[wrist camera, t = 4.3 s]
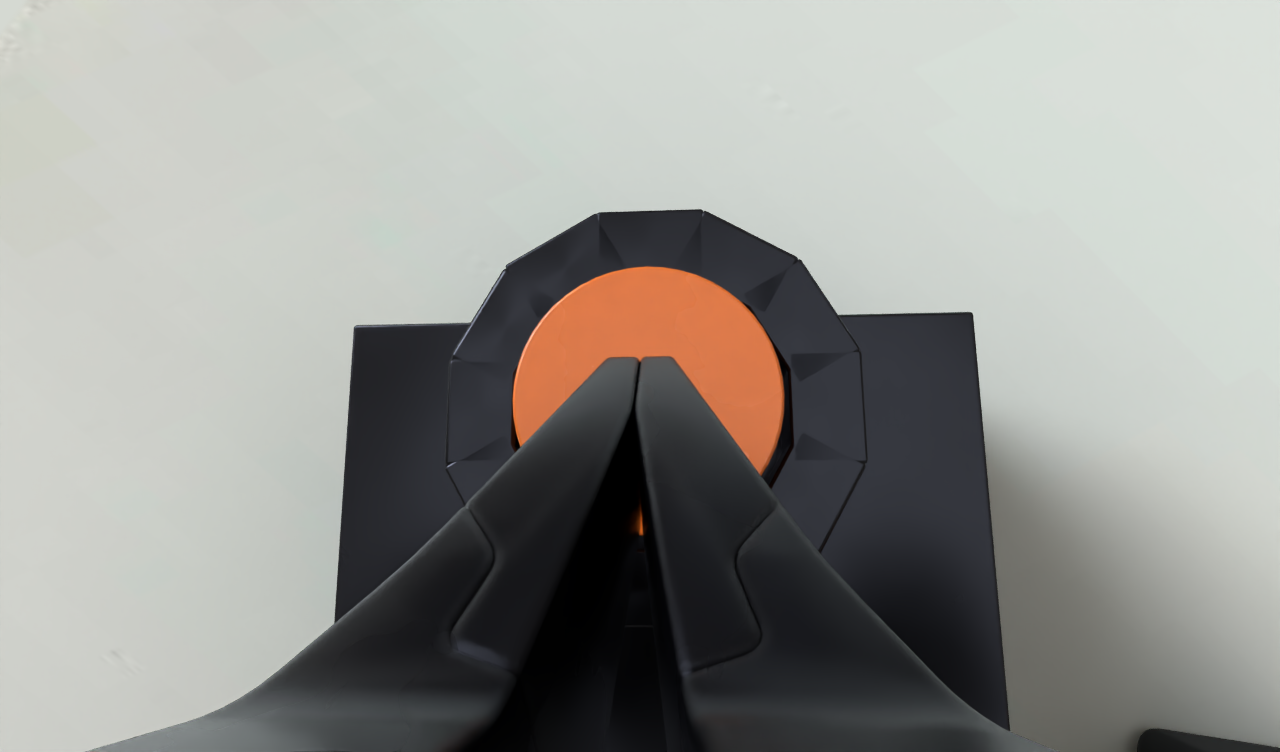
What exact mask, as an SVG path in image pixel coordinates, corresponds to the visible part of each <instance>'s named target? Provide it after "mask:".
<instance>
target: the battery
mask: <svg viewBox="0 0 1280 752" xmlns="http://www.w3.org/2000/svg"><path fill="white" fill-rule="evenodd" d="M1137 752H1280V748H1278V747H1271V746H1265V745H1259V744H1253V743H1246V742H1240V741H1234V740H1227V739H1221V738H1215V737H1208V736H1202V735H1196V734H1190V733H1183V732H1177V731H1171V730H1164V729H1149V730H1147V731H1145V732H1143V733H1142V735H1141V736H1140V738H1139V741H1138V747H1137Z"/></svg>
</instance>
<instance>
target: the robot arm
mask: <svg viewBox="0 0 1280 752" xmlns="http://www.w3.org/2000/svg"><path fill="white" fill-rule="evenodd" d="M641 516H642V530H643V542H644V551H645V560H646V568H647V577H648V586H649V595H650V603H651V612H652V621H653V630H654V638H655V647H656V656H657V665H658V674H659V682H660V691H661V700H662V709H663V717H664V726H665V735H666V744H667V752H1059V751H1056V750H1054V749H1051V748H1049V747H1046V746H1044V745H1041V744H1039V743H1037V742H1034V741H1032V740H1029V739H1027V738H1024V737H1022V736H1019V735H1017V734H1015V733H1012V732H1010V731H1008V730H1006V729H1004V728H1002V727H1000V726H998V725H997V724H995V723H993V722H991V721H990V720H988V719H987V718H985V717H984V716H982V715H981V714H980V713H978V712H977V711H975V710H974V709H973V708H971V707H970V706H969V705H967V704H966V703H965V702H964V701H963V700H961V699H960V698H959V697H958V696H957V695H955V694H954V693H953V692H952V691H951V690H950V689H949V688H948V687H947V686H946V685H945V684H944V683H943V682H942V681H941V680H940V679H939V678H938V677H937V676H936V675H935V674H934V673H933V672H932V671H931V670H930V669H929V668H928V667H927V666H926V665H925V664H924V663H923V662H922V661H921V660H920V659H919V658H918V657H917V656H916V655H915V654H914V653H913V652H912V651H911V650H910V649H909V647H908V646H907V645H906V644H905V643H904V642H903V641H902V640H901V639H900V638H899V637H898V636H897V635H896V634H895V633H894V632H893V631H892V630H891V629H890V628H889V627H888V626H887V625H886V624H885V623H884V622H883V621H882V620H881V619H880V618H879V617H878V615H877V614H876V613H875V612H874V611H873V610H872V609H871V608H870V607H869V606H868V605H867V604H866V603H865V602H864V601H863V600H862V599H861V598H860V597H859V596H858V595H857V594H856V593H855V592H854V591H853V590H852V588H851V587H850V586H849V585H848V584H847V583H846V582H845V581H844V580H843V579H842V578H841V577H840V575H839V574H838V573H837V572H836V571H835V570H834V569H833V568H832V567H831V566H830V565H829V563H828V562H827V561H826V560H825V559H824V558H823V557H822V555H821V554H820V553H819V552H818V550H817V549H816V548H815V547H814V545H813V544H812V543H811V542H810V540H809V539H808V538H807V537H806V535H805V534H804V533H803V532H802V530H801V529H800V528H799V526H798V525H797V524H796V522H795V521H794V520H793V518H792V517H791V516H790V514H789V513H788V511H787V510H786V509H785V507H783V506H781V503H780V501H779V500H778V498H777V497H776V496H775V494H774V493H773V492H772V490H771V489H770V487H769V486H768V485H767V483H766V482H765V481H764V479H763V478H762V477H761V475H760V474H759V473H758V471H757V470H756V468H755V467H754V466H753V464H752V463H751V462H750V460H749V459H748V458H747V456H746V455H745V454H744V452H743V451H742V449H741V448H740V447H739V445H738V444H737V443H736V441H735V440H734V439H733V437H732V436H731V435H730V433H729V432H728V430H727V429H726V428H725V426H724V425H723V424H722V422H721V421H720V420H719V418H718V417H717V416H716V414H715V413H714V412H713V410H712V409H711V407H710V406H709V405H708V403H707V402H706V401H705V399H704V398H703V397H702V395H701V394H700V393H699V391H698V390H697V388H696V387H695V386H694V384H693V383H692V382H691V380H690V379H689V378H688V376H687V375H686V374H685V372H684V371H683V369H682V368H681V367H680V365H679V364H678V363H677V361H676V360H675V359H674V358H673V357H671V356H646V357H643V358H642V359H641V361H640V360H639V359H638V358H637V357H609V358H607V359H605V360H604V361H603V362H602V363H601V364H600V365H599V366H598V368H597V369H596V370H595V371H594V372H593V373H592V374H591V375H590V376H589V377H588V378H587V379H586V380H585V381H584V382H583V383H582V384H581V385H580V386H579V387H578V388H577V389H576V390H575V391H574V392H573V393H572V394H571V395H570V396H569V398H568V399H567V400H566V401H565V402H564V403H563V404H562V405H561V406H560V407H559V408H558V409H557V410H556V411H555V412H554V413H553V414H552V415H551V416H550V417H549V418H548V419H547V420H546V421H545V422H544V423H543V424H542V425H541V426H540V427H539V429H538V430H537V431H536V432H535V433H534V434H533V435H532V436H531V437H530V438H529V439H528V440H527V441H526V442H525V443H524V444H523V445H522V446H521V447H520V448H519V449H518V450H517V451H516V452H515V453H514V454H513V455H512V456H511V457H510V459H509V460H508V461H507V462H506V463H505V464H504V465H503V466H502V467H501V468H500V469H499V470H498V471H497V472H496V473H495V474H494V475H493V476H492V477H491V478H490V479H489V480H488V481H487V482H486V483H485V484H484V485H483V486H482V487H481V489H480V490H479V491H478V492H477V493H476V494H475V495H474V496H473V497H472V498H471V499H470V500H469V501H468V502H467V503H466V507H462V508H461V509H460V510H459V511H458V512H457V513H456V514H455V515H454V516H453V517H452V518H451V519H450V520H449V521H448V522H447V523H446V524H445V525H444V526H443V527H442V528H441V529H440V530H439V531H438V532H437V533H436V534H435V535H434V536H433V537H432V538H431V539H430V540H429V541H428V542H427V543H426V544H425V545H424V546H423V547H422V548H421V549H420V550H419V551H418V552H417V553H416V554H415V555H414V556H413V557H412V558H410V559H409V560H408V561H407V562H406V563H405V564H404V565H402V566H401V567H400V568H399V569H398V570H397V571H396V572H395V573H393V574H392V575H391V576H390V577H389V578H388V579H387V580H385V581H384V582H383V583H382V584H381V585H380V586H379V587H377V588H376V589H375V590H374V591H373V592H372V593H370V594H369V595H368V596H367V597H366V598H365V599H363V600H362V601H361V602H360V603H359V604H357V605H356V606H355V607H354V608H353V609H351V610H350V611H349V612H348V613H347V614H345V615H344V616H343V617H342V618H341V619H339V620H338V621H337V622H336V623H335V624H334V625H332V626H331V627H330V628H329V629H328V630H326V631H325V632H324V633H323V634H322V635H320V636H319V637H318V638H317V639H316V640H314V641H313V642H312V643H311V644H310V645H308V646H307V647H306V648H305V649H304V650H303V651H301V652H300V653H299V654H298V655H297V656H295V657H294V658H293V659H292V660H291V661H289V662H288V663H287V664H286V665H285V666H283V667H282V668H281V669H280V670H279V671H277V672H276V673H275V674H274V675H272V676H271V677H270V678H268V679H267V680H266V681H265V682H263V683H262V684H261V685H259V686H258V687H256V688H255V689H253V690H252V691H250V692H249V693H247V694H246V695H244V696H243V697H241V698H240V699H238V700H236V701H234V702H232V703H230V704H229V705H227V706H225V707H223V708H221V709H219V710H216V711H214V712H212V713H209V714H207V715H205V716H202V717H200V718H197V719H194V720H191V721H188V722H185V723H182V724H178V725H175V726H171V727H168V728H164V729H161V730H158V731H154V732H151V733H147V734H144V735H141V736H137V737H134V738H130V739H127V740H124V741H120V742H117V743H113V744H110V745H107V746H103V747H100V748H96V749H93V750H89V751H86V752H605V746H606V740H607V734H608V727H609V721H610V715H611V709H612V703H613V696H614V690H615V684H616V678H617V671H618V665H619V659H620V653H621V647H622V640H623V634H624V628H625V622H626V616H627V609H628V603H629V597H630V591H631V584H632V578H633V572H634V566H635V560H636V553H637V547H638V541H639V533H640V525H641Z"/></svg>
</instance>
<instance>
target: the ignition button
mask: <svg viewBox="0 0 1280 752" xmlns="http://www.w3.org/2000/svg"><path fill="white" fill-rule="evenodd" d="M646 356H671V357H673V358H674V359H675V360H676V361H677V363H678V364H679V365H680V367H681V368H682V369H683V371H684V372H685V374H686V375H687V376H688V378H689V379H690V380H691V382H692V383H693V384H694V386H695V387H696V388H697V390H698V391H699V393H700V394H701V395H702V397H703V398H704V399H705V401H706V402H707V403H708V405H709V406H710V407H711V409H712V410H713V412H714V413H715V414H716V416H717V417H718V418H719V420H720V421H721V422H722V424H723V425H724V426H725V428H726V429H727V430H728V432H729V433H730V435H731V436H732V437H733V439H734V440H735V441H736V443H737V444H738V445H739V447H740V448H741V449H742V451H743V452H744V454H745V455H746V456H747V458H748V459H749V460H750V462H751V463H752V464H753V466H754V467H755V468H756V470H757V471H758V473H759V474H760V475H762V474H763V472H764V471H765V469H766V467H767V466H768V464H769V462H770V460H771V458H772V456H773V453H774V451H775V449H776V446H777V443H778V440H779V436H780V433H781V429H782V423H783V417H784V399H785V394H784V385H783V376H782V372H781V368H780V364H779V360H778V358H777V355H776V352H775V350H774V347H773V345H772V343H771V341H770V339H769V337H768V335H767V334H766V332H765V330H764V328H763V327H762V325H761V324H760V323H759V321H758V320H757V319H756V317H755V316H754V315H753V314H752V313H751V311H750V310H749V309H748V308H747V307H746V306H745V305H744V304H743V303H742V302H741V301H740V300H738V299H737V298H736V297H735V296H733V295H732V294H731V293H730V292H728V291H727V290H725V289H724V288H722V287H720V286H719V285H717V284H715V283H714V282H712V281H710V280H707V279H705V278H703V277H700V276H698V275H696V274H692V273H689V272H685V271H682V270H677V269H671V268H665V267H636V268H627V269H622V270H618V271H613V272H610V273H607V274H604V275H602V276H599V277H596V278H594V279H592V280H590V281H588V282H586V283H584V284H582V285H580V286H579V287H577V288H576V289H574V290H573V291H571V292H570V293H568V294H567V295H565V296H564V297H563V298H562V299H561V300H560V301H558V302H557V303H556V304H555V305H554V306H553V307H552V308H551V309H550V310H549V311H548V312H547V314H546V315H545V316H544V317H543V318H542V319H541V321H540V322H539V324H538V325H537V326H536V328H535V329H534V331H533V332H532V334H531V336H530V338H529V340H528V342H527V344H526V345H525V347H524V350H523V352H522V355H521V358H520V361H519V363H518V367H517V372H516V376H515V381H514V390H513V417H514V423H515V429H516V434H517V437H518V441H519V444H520V447H521V446H522V445H523V444H524V443H525V442H526V441H527V440H528V439H529V438H530V437H531V436H532V435H533V434H534V433H535V432H536V431H537V430H538V429H539V427H540V426H541V425H542V424H543V423H544V422H545V421H546V420H547V419H548V418H549V417H550V416H551V415H552V414H553V413H554V412H555V411H556V410H557V409H558V408H559V407H560V406H561V405H562V404H563V403H564V402H565V401H566V400H567V399H568V398H569V396H570V395H571V394H572V393H573V392H574V391H575V390H576V389H577V388H578V387H579V386H580V385H581V384H582V383H583V382H584V381H585V380H586V379H587V378H588V377H589V376H590V375H591V374H592V373H593V372H594V371H595V370H596V369H597V368H598V366H599V365H600V364H601V363H602V362H603V361H604V360H605V359H607V358H609V357H637V358H638V359H639V360H640V361H641V359H642V358H643V357H646ZM639 536H643V530H642V516H641V525H640V533H639Z"/></svg>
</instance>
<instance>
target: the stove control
mask: <svg viewBox="0 0 1280 752" xmlns="http://www.w3.org/2000/svg"><path fill="white" fill-rule="evenodd" d="M636 267H665V268H671V269H677V270H682V271H685V272H689V273H692V274H696V275H698V276H700V277H703V278H705V279H707V280H710V281H712V282H714V283H715V284H717V285H719V286H720V287H722V288H724V289H725V290H727V291H728V292H730V293H731V294H732V295H733V296H735V297H736V298H737V299H738V300H740V301H741V302H742V303H743V304H744V305H745V306H746V307H747V308H748V309H749V310H750V311H751V313H752V314H753V315H754V316H755V317H756V319H757V320H758V321H759V323H760V324H761V325H762V327H763V328H764V330H765V332H766V334H767V335H768V337H769V339H770V341H771V343H772V345H773V347H774V350H775V352H776V355H777V358H778V360H779V364H780V368H781V372H782V376H783V385H784V394H785V399H784V417H783V423H782V429H781V433H780V436H779V440H778V443H777V446H776V449H775V451H774V453H773V456H772V458H771V460H770V462H769V464H768V466H767V467H766V469H765V471H764V472H763V474H762V475H761V477H762V478H763V479H764V481H765V482H766V483H767V485H768V486H769V487H770V489H771V490H772V492H773V493H774V494H775V496H776V497H777V498H778V500H779V501H780V503H781V506H783V507H785V509H786V510H787V511H788V513H789V514H790V516H791V517H792V518H793V520H794V521H795V522H796V524H797V525H798V526H799V528H800V529H801V530H802V532H803V533H804V534H805V535H806V537H807V538H808V539H809V540H810V542H811V543H812V544H813V545H814V547H815V548H816V549H817V550H818V552H819V553H820V554H821V555H822V557H823V558H824V559H825V560H826V561H827V562H828V563H829V565H830V566H831V567H832V568H833V569H834V570H835V571H836V572H837V573H838V574H839V575H840V577H841V578H842V579H843V580H844V581H845V582H846V583H847V584H848V585H849V586H850V587H851V588H852V590H853V591H854V592H855V593H856V594H857V595H858V596H859V597H860V598H861V599H862V600H863V601H864V602H865V603H866V604H867V605H868V606H869V607H870V608H871V609H872V610H873V611H874V612H875V613H876V614H877V615H878V617H879V618H880V619H881V620H882V621H883V622H884V623H885V624H886V625H887V626H888V627H889V628H890V629H891V630H892V631H893V632H894V633H895V634H896V635H897V636H898V637H899V638H900V639H901V640H902V641H903V642H904V643H905V644H906V645H907V646H908V647H909V649H910V650H911V651H912V652H913V653H914V654H915V655H916V656H917V657H918V658H919V659H920V660H921V661H922V662H923V663H924V664H925V665H926V666H927V667H928V668H929V669H930V670H931V671H932V672H933V673H934V674H935V675H936V676H937V677H938V678H939V679H940V680H941V681H942V682H943V683H944V684H945V685H946V686H947V687H948V688H949V689H950V690H951V691H952V692H953V693H954V694H955V695H957V696H958V697H959V698H960V699H961V700H963V701H964V702H965V703H966V704H967V705H969V706H970V707H971V708H973V709H974V710H975V711H977V712H978V713H980V714H981V715H982V716H984V717H985V718H987V719H988V720H990V721H991V722H993V723H995V724H997V725H998V726H1000V727H1002V728H1004V729H1006V730H1008V731H1010V724H1009V713H1008V702H1007V691H1006V679H1005V668H1004V657H1003V646H1002V634H1001V623H1000V612H999V601H998V590H997V578H996V567H995V556H994V545H993V534H992V522H991V511H990V500H989V489H988V478H987V466H986V455H985V444H984V433H983V421H982V410H981V399H980V388H979V377H978V365H977V354H976V343H975V332H974V321H973V314H972V313H971V312H950V313H904V314H857V315H837V313H836V312H835V310H834V309H833V307H832V306H831V304H830V303H829V301H828V300H827V298H826V297H825V295H824V294H823V292H822V291H821V289H820V288H819V286H818V285H817V283H816V282H815V280H814V279H813V277H812V276H811V274H810V273H809V271H808V270H807V268H806V267H805V265H804V264H803V262H802V261H801V260H800V259H799V260H798V258H797V257H796V256H794V255H792V254H790V253H788V252H786V251H784V250H782V249H780V248H778V247H776V246H774V245H772V244H770V243H768V242H766V241H764V240H762V239H760V238H758V237H756V236H754V235H752V234H750V233H748V232H746V231H744V230H742V229H741V228H739V227H737V226H735V225H733V224H731V223H729V222H727V221H725V220H723V219H721V218H719V217H717V216H715V215H713V214H711V213H709V212H707V211H704V212H703V210H701V209H697V210H665V211H633V212H601V213H598V214H594V215H592V216H590V217H589V218H587V219H585V220H583V221H582V222H580V223H578V224H576V225H575V226H573V227H571V228H569V229H568V230H566V231H564V232H563V233H561V234H559V235H557V236H556V237H554V238H552V239H550V240H549V241H547V242H545V243H544V244H542V245H540V246H538V247H537V248H535V249H533V250H531V251H530V252H528V253H526V254H524V255H523V256H521V257H519V258H518V259H516V260H514V261H512V262H511V263H509V264H507V265H506V269H504V270H503V271H502V273H501V274H500V276H499V278H498V279H497V281H496V283H495V284H494V286H493V287H492V289H491V291H490V292H489V294H488V296H487V297H486V299H485V300H484V302H483V304H482V305H481V307H480V309H479V310H478V312H477V313H476V315H475V317H474V318H473V320H472V322H471V323H441V324H394V325H357V326H355V327H354V335H353V351H352V366H351V381H350V396H349V411H348V426H347V441H346V456H345V471H344V486H343V501H342V516H341V531H340V546H339V561H338V576H337V591H336V607H335V622H334V624H335V623H336V622H337V621H338V620H339V619H341V618H342V617H343V616H344V615H345V614H347V613H348V612H349V611H350V610H351V609H353V608H354V607H355V606H356V605H357V604H359V603H360V602H361V601H362V600H363V599H365V598H366V597H367V596H368V595H369V594H370V593H372V592H373V591H374V590H375V589H376V588H377V587H379V586H380V585H381V584H382V583H383V582H384V581H385V580H387V579H388V578H389V577H390V576H391V575H392V574H393V573H395V572H396V571H397V570H398V569H399V568H400V567H401V566H402V565H404V564H405V563H406V562H407V561H408V560H409V559H410V558H412V557H413V556H414V555H415V554H416V553H417V552H418V551H419V550H420V549H421V548H422V547H423V546H424V545H425V544H426V543H427V542H428V541H429V540H430V539H431V538H432V537H433V536H434V535H435V534H436V533H437V532H438V531H439V530H440V529H441V528H442V527H443V526H444V525H445V524H446V523H447V522H448V521H449V520H450V519H451V518H452V517H453V516H454V515H455V514H456V513H457V512H458V511H459V510H460V509H461V508H462V507H466V503H467V502H468V501H469V500H470V499H471V498H472V497H473V496H474V495H475V494H476V493H477V492H478V491H479V490H480V489H481V487H482V486H483V485H484V484H485V483H486V482H487V481H488V480H489V479H490V478H491V477H492V476H493V475H494V474H495V473H496V472H497V471H498V470H499V469H500V468H501V467H502V466H503V465H504V464H505V463H506V462H507V461H508V460H509V459H510V457H511V456H512V455H513V454H514V453H515V452H516V451H517V450H518V449H519V448H520V444H519V441H518V437H517V434H516V429H515V423H514V417H513V390H514V381H515V376H516V372H517V367H518V363H519V361H520V358H521V355H522V352H523V350H524V347H525V345H526V344H527V342H528V340H529V338H530V336H531V334H532V332H533V331H534V329H535V328H536V326H537V325H538V324H539V322H540V321H541V319H542V318H543V317H544V316H545V315H546V314H547V312H548V311H549V310H550V309H551V308H552V307H553V306H554V305H555V304H556V303H557V302H558V301H560V300H561V299H562V298H563V297H564V296H565V295H567V294H568V293H570V292H571V291H573V290H574V289H576V288H577V287H579V286H580V285H582V284H584V283H586V282H588V281H590V280H592V279H594V278H596V277H599V276H602V275H604V274H607V273H610V272H613V271H618V270H622V269H627V268H636ZM605 752H667V744H666V735H665V726H664V717H663V709H662V700H661V691H660V682H659V674H658V665H657V656H656V647H655V638H654V630H653V621H652V612H651V603H650V595H649V586H648V577H647V568H646V560H645V551H644V542H643V536H639V541H638V547H637V553H636V560H635V566H634V572H633V578H632V584H631V591H630V597H629V603H628V609H627V616H626V622H625V628H624V634H623V640H622V647H621V653H620V659H619V665H618V671H617V678H616V684H615V690H614V696H613V703H612V709H611V715H610V721H609V727H608V734H607V740H606V746H605Z"/></svg>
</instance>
